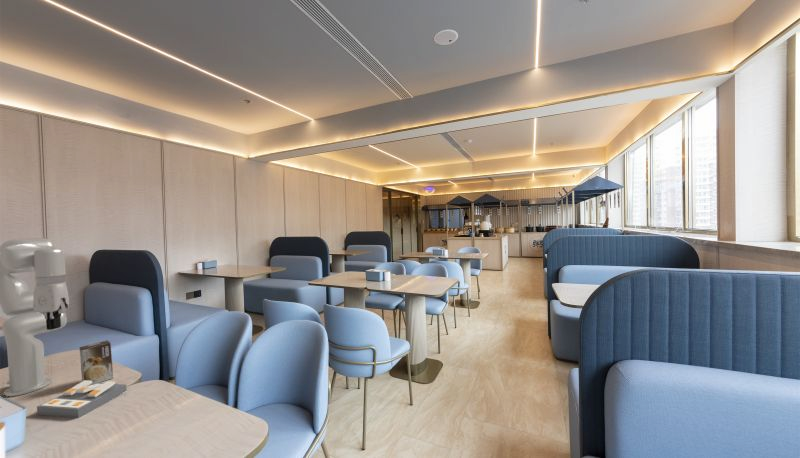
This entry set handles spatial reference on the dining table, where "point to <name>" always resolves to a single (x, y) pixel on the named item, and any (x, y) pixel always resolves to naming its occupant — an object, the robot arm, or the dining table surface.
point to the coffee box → (96, 362)
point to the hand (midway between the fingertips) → (53, 328)
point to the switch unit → (79, 402)
